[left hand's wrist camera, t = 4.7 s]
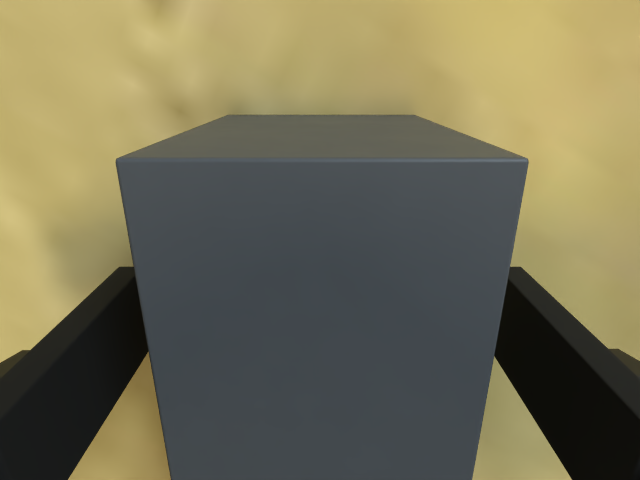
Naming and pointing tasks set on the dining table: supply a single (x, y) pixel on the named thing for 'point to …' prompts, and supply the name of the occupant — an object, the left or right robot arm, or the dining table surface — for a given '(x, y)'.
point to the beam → (321, 293)
